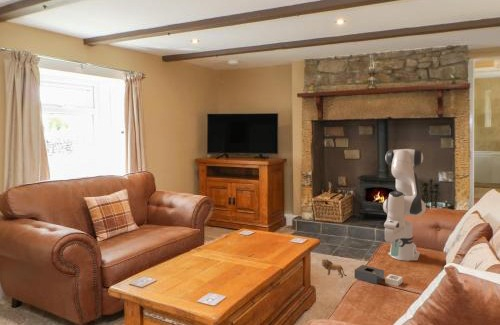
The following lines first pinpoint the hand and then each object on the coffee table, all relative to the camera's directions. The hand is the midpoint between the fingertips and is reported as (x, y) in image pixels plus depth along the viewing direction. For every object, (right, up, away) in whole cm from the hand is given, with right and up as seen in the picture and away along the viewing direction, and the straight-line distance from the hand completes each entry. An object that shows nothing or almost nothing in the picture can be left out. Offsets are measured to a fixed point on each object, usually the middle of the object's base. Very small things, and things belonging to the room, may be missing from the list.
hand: (394, 246), depth 215 cm
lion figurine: (-31, -20, +14) cm, 39 cm away
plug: (0, -5, +1) cm, 5 cm away
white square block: (0, -21, +2) cm, 21 cm away
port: (-12, -20, +8) cm, 25 cm away
